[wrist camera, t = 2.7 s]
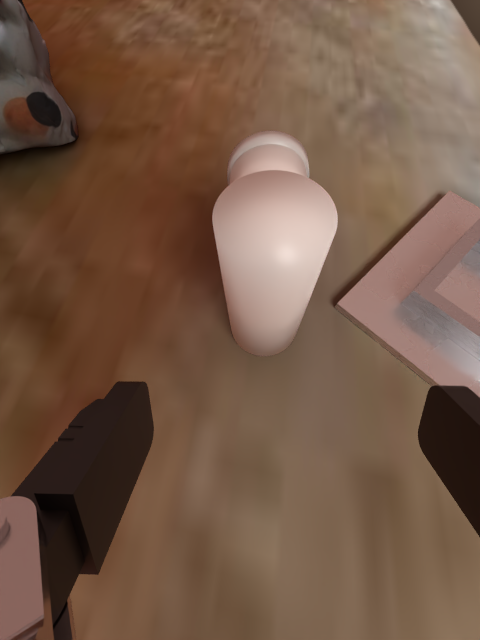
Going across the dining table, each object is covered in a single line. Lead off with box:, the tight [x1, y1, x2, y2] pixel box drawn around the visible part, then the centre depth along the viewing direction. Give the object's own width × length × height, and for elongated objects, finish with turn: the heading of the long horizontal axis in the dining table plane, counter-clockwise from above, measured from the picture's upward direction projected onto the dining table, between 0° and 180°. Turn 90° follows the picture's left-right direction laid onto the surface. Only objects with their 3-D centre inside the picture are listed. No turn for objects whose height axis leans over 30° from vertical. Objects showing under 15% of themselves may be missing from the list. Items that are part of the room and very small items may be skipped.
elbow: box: [212, 131, 338, 356], centre depth 19 cm, size 9×5×12 cm, turn 179°
